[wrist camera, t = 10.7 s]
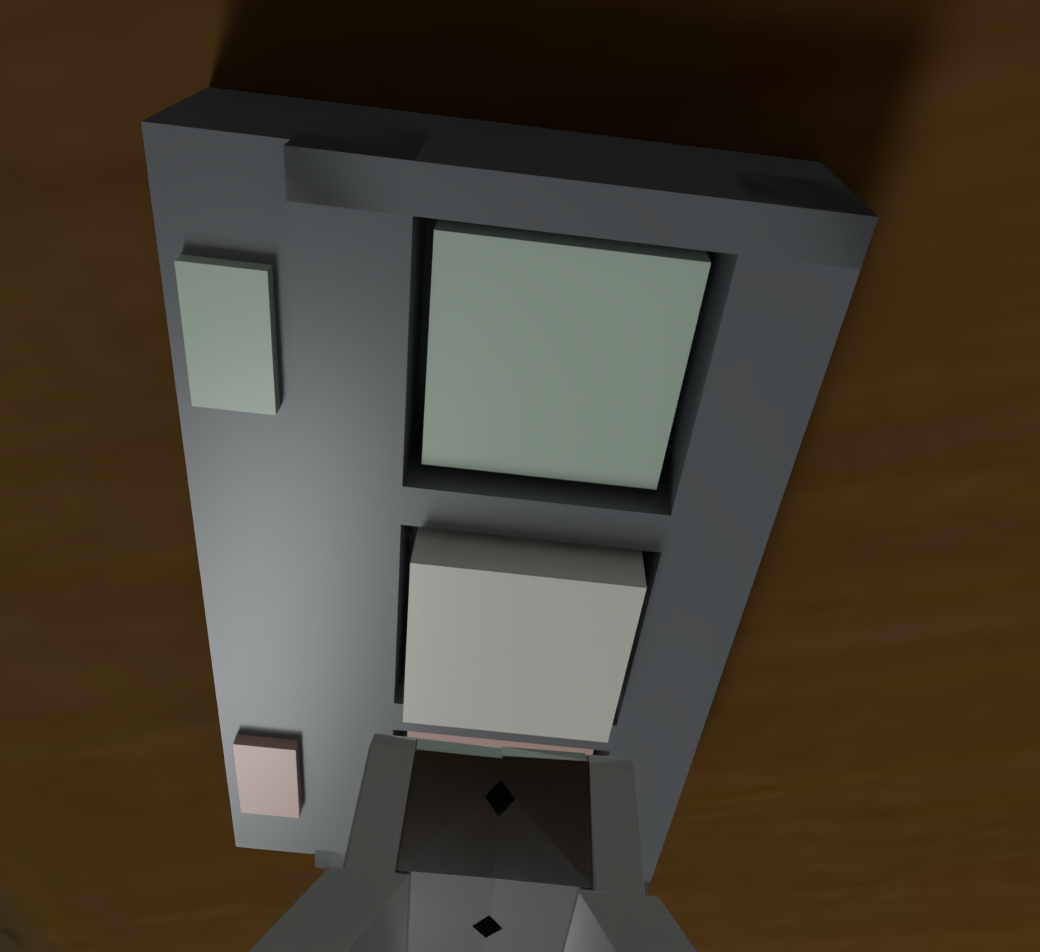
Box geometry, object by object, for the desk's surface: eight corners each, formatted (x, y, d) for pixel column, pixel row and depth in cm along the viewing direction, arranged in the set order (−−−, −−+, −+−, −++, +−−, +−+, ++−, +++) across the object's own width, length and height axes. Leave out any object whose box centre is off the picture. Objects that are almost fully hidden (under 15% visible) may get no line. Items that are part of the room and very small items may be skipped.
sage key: (444, 203, 20) (433, 230, 18) (698, 233, 20) (710, 262, 18) (431, 424, 23) (421, 464, 22) (649, 448, 23) (656, 489, 22)
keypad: (208, 86, 20) (131, 126, 17) (821, 162, 21) (878, 217, 17) (266, 755, 34) (231, 859, 31) (635, 791, 35) (644, 898, 31)
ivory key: (420, 515, 23) (410, 562, 21) (640, 539, 23) (646, 588, 22) (412, 670, 26) (402, 722, 25) (604, 690, 27) (607, 742, 25)
